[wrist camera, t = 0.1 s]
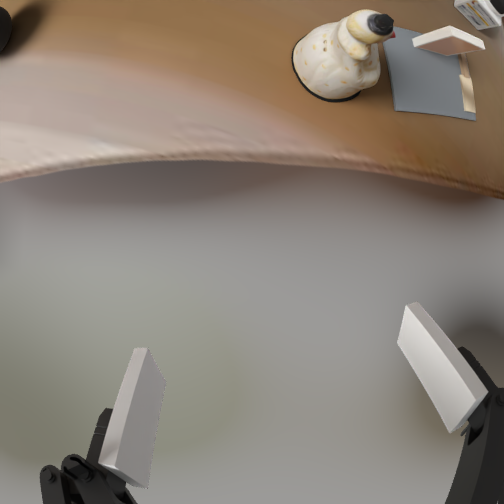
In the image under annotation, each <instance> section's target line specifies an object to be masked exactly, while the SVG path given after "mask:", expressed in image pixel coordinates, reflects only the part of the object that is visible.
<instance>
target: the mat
mask: <svg viewBox="0 0 504 504" xmlns="http://www.w3.org/2000/svg"><path fill="white" fill-rule="evenodd" d="M393 31H394V32H395V36H396V38H390V39H388V40H387V41H385V42H383V47H384V51H385V56H386V61H387V66H388V71H389V76H390V82H391V89H392V95H393V103H394V111H406V112H418V113H428V114H436V115H444V116H450V117H457V118H463V119H468V120H474V121H476V117H475V113H472V112H468V111H464V103H463V95H462V89H461V82H460V77H459V75H462V74H461V69H460V64H459V59H458V55H457V54H455V55H450V56H445V55H442V54H439V53H435V52H432V51H428V50H424V49H420V48H416V47H414V45H413V41H412V39H413V38H415V37H418V36H421V35H423V34H422V33H418V32H415V31H411V30H407V29H403V28H398V27H394V26H393ZM465 56H466V55H465ZM466 60H467V59H466ZM467 65H468V64H467ZM468 70H469V69H468ZM469 75H470V74H469Z"/></svg>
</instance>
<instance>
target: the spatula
mask: <svg viewBox="0 0 504 504" xmlns="http://www.w3.org/2000/svg"><path fill="white" fill-rule="evenodd" d="M457 55H458V59H459V64H460V69H461V74H462V75H459V77H460V82H461V89H462V95H463V103H464V111H468V112H472V113H476V110H475V101H474V94H473V87H472V81H471V77H470V75H469V70H468V65H467V60H466V56H465V53H460V54H457Z"/></svg>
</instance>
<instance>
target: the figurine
mask: <svg viewBox="0 0 504 504" xmlns="http://www.w3.org/2000/svg"><path fill="white" fill-rule="evenodd" d="M393 22H394V20H393V19H392V18H391V17H389V16H388V15H387V14H381V13H378V12H376V11H372V10H360V11H357V12H355V13H353V14H351V15H350V16H348V17H345V18H343V19H341V21H339V22H335V23H328V24H325V25H322V26H320V27H317V28H315V29H314V30H312V31H311V32H310V33H309V34H307V35H306V36H304V37H303V38H302V39H300V40H299V41H298V42H297V43H296V45H295V46H294V49H293V51H292V66H293V70H294V72H295V74H296V76H297V78H298V80H299V82H300V83H301V84H302V86H303V87H304V88H305V89H306V90H307V91H308V92H309V93H310V94H312V95H313V96H315V97H317V98H319V99H321V100H324V101H327V102H343V101H347V100H351V99H353V98H355V97H356V96H358V95H359V94H360V92H361V90H362V89H365V88H370V87H372V86H374V85H375V84H376V83H377V81H378V79H379V76H380V61H379V54H378V43H383V42H385V41H387V40H388V39H390V38H396V36H395V32H394V31H393Z"/></svg>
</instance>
